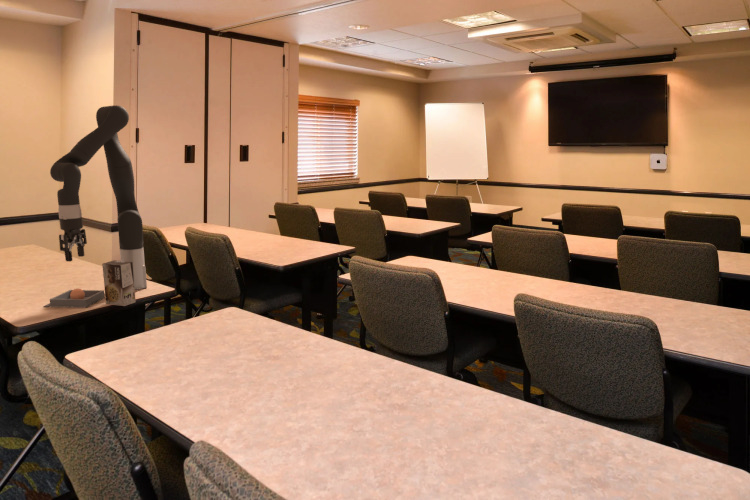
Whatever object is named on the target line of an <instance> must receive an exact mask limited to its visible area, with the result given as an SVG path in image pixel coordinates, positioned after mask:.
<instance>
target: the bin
mask: <svg viewBox="0 0 750 500" xmlns="http://www.w3.org/2000/svg"><path fill="white" fill-rule="evenodd" d="M72 290H73V289H68V290H67V291H65V292H62V293H60V294H57V295H56V296H54V297H52V298H50V299H49V303H50V308H85V309H86V308H88V307H90V306H92V305H94V304H96V303H97V302H100V301H101V300H103V299H106V297H105V289H103V290H99V289H93V290H91V289H82V290H83V291H84V293H85V297H84V299H71V297H70V293H71V292H72Z"/></svg>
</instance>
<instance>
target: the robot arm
mask: <svg viewBox="0 0 750 500" xmlns="http://www.w3.org/2000/svg"><path fill="white" fill-rule="evenodd" d="M95 118H96V124H97V128H95V129H94V130H92V131H91V132H89V133H88V134H86V135H85V136H84V137H82V138H81V139H80V140H79V141H78V142H76V144H75V145H74V146H73V147H72V149H71V150H70V151H69V152H67V153H66V154H64V155H63V156H61V157H60V158H59V159H57V160H56V161H55V162H54V163H53V164H52V165H51V167H50V170H49V171H50V172H49V174H50V177H51V179H53V180H54V181H56V182H60V183H61V182H62V183H63V186H62V188H60V189H58V190H57V203H58V210H57V211H58V219H59V228H60V230H62V231H64V232H63V234H59V235H58V240H59V250H60V251H59V252H64V257H65V262H72V261H73V253H72V249H73V247H74V246H75V245H76V250H77V256H78V257H79V258H80V257H85V245H87V244H88V241H87V234H86V229H85V228H84V224H83V213H82V207H81V204H80V203H81V202H80V194H79V193H80V187H81V186H80V185H81V181H82V180H81V179H82V172H81V169H80V167H85V165H87V164H88V163H89V162H90V160H91V159H93V157H94V156H95V155H96V153H97V152H98V151H99V150H100V149H101V148H102V147H103V150H104V154H105V155H104V156H105V159H106V165H107V167H106V168H107V172H108V176H109V182H110V184H111V187H112V190H113V194H114V196H115V200H116V212H117V229H118V231H117V232H118V243H119V244H118V245H119V256H120V261H128V262H133V275H134V289H135V291H136V290H141V289H147V288H148V287H147V286H148V284H147V273H146V272H147V271H146V269H147V268H146V264H145V262H146V261H145V251H144V249H145V248H144V233H143V232H144V227H143V219H142V217H141V214H140V212H139V209H138V205H137V200H136V196H135V176H134V169H133V164H132V160H131V158H130V157H129V154H128V153H127V152H126V151H125V149H124V147H123V146H122V144H121V142H120V140H119V135H118V132H120V131H121V130H123V129H124V128H125V127H126V126H127V125H128V123H129V121H130V117H129V113H128V111H127V109H126V108H125V107H124V106H121V105H107V106H101V107H99V108H98V109H97V111H96V114H95Z"/></svg>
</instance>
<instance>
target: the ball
mask: <svg viewBox="0 0 750 500" xmlns="http://www.w3.org/2000/svg"><path fill="white" fill-rule="evenodd" d="M71 290H72V292H71V293H70V297H71V299H84V297H85V293H84V291H83V290H84V289H82V288H79V287H78V288H74V289H71Z"/></svg>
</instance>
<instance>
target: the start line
mask: <svg viewBox="0 0 750 500" xmlns="http://www.w3.org/2000/svg"><path fill="white" fill-rule="evenodd" d="M42 307H43V308H49V307H50V302H49V303H47V304H45V305H43V306H42ZM50 308H51V307H50Z"/></svg>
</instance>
